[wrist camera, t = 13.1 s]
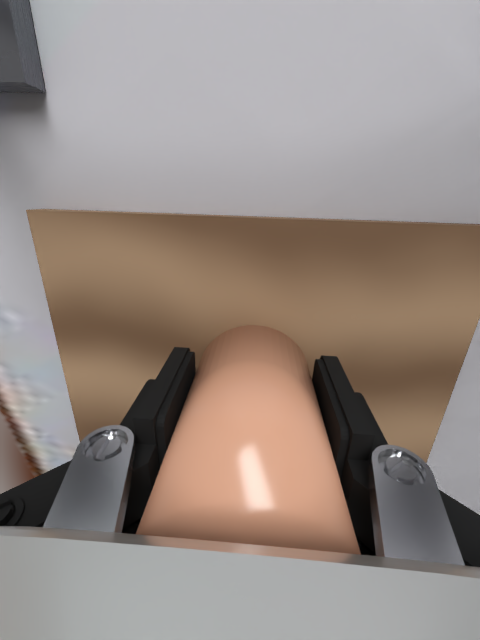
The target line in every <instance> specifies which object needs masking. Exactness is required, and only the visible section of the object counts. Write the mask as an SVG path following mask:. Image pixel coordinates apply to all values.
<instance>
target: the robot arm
mask: <svg viewBox="0 0 480 640" xmlns="http://www.w3.org/2000/svg"><path fill="white" fill-rule="evenodd" d="M195 374H196V368H195V352H190V348H185V347H174V348H173V350H172V352H171V354H170V355H169V357H168V359H167V360H166V362H165V364H164V366H163V367H162V369H161V371H160V372H159V374H158V376H157V377H156V379H149V380H148V381H147V382H146V383H145V385H144V386H143V388H142V390H141V391H140V393H139V394H138V396H137V398H136V399H135V401H134V402H133V404H132V406H131V407H130V409H129V410H128V412H127V414H126V415H125V417H124V418H123V420H122V422H121V423H120V425H110V426H105V427H102V428H99V429H96V430H95V431H93V432H91V433H90V434H88V435H87V436H86V437H85V438H84V439H83V440H82V441H81V442H80V444H79V445H78V447H77V449H76V452H75V454H74V456H73V459H72V460H71V461H69V462H67V463H65V464H63V465H61V466H59V467H56V468H54V469H52V470H50V471H48V472H46V473H44V474H42V475H40V476H38V477H35V478H33V479H31V480H29V481H27V482H25V483H23V484H21V485H19V486H17V487H15V488H12V489H10V490H8V491H6V492H4V493H2V494H0V640H480V515H479V514H477V513H475V512H474V511H472V510H471V509H469V508H467V507H466V506H464V505H463V504H461V503H459V502H458V501H456V500H455V499H453V498H451V497H450V496H448V495H447V494H445V493H443V492H442V491H440V490H439V489H438V487H437V484H436V481H435V478H434V475H433V473H432V471H431V469H430V467H429V466H428V465H427V464H426V463H425V461H424V460H423V459H422V458H420V457H419V456H418V455H416V454H415V453H413V452H411V451H409V450H408V449H406V448H403V447H400V446H396V445H388V443H387V441H386V439H385V437H384V435H383V433H382V431H381V429H380V427H379V425H378V423H377V421H376V420H375V418H374V416H373V414H372V412H371V410H370V408H369V406H368V404H367V402H366V400H365V398H364V396H363V395H362V394H361V393H360V392H354V390H353V388H352V386H351V384H350V382H349V380H348V378H347V376H346V374H345V372H344V370H343V367H342V365H341V363H340V361H339V359H338V357H337V356H323V355H321V357H320V359H315V363H314V369H313V376H312V382H313V386H314V389H315V393H316V396H317V400H318V403H319V407H320V411H321V414H322V418H323V421H324V425H325V428H326V432H327V435H328V439H329V443H330V446H331V450H332V453H333V457H334V460H335V464H336V468H337V471H338V475H339V478H340V482H341V485H342V489H343V492H344V496H345V500H346V503H347V507H348V510H349V514H350V517H351V521H352V525H353V528H354V532H355V535H356V539H357V542H358V546H359V549H360V553H361V555H359V554H349V553H339V552H328V551H318V550H307V549H296V548H286V547H275V546H264V545H253V544H242V543H230V542H219V541H208V540H197V539H186V538H174V537H162V536H150V535H138V534H136V532H137V529H138V526H139V524H140V521H141V518H142V516H143V513H144V510H145V508H146V505H147V502H148V500H149V497H150V494H151V492H152V489H153V486H154V484H155V481H156V478H157V475H158V473H159V470H160V467H161V465H162V462H163V459H164V457H165V454H166V451H167V449H168V446H169V443H170V441H171V438H172V435H173V433H174V430H175V427H176V425H177V422H178V419H179V417H180V414H181V411H182V409H183V406H184V403H185V401H186V398H187V395H188V393H189V390H190V387H191V385H192V382H193V379H194V376H195Z"/></svg>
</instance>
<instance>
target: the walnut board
mask: <svg viewBox="0 0 480 640" xmlns="http://www.w3.org/2000/svg"><path fill="white" fill-rule="evenodd" d="M26 212H27V216H28V220H29V225H30V229H31V233H32V237H33V242H34V246H35V250H36V255H37V259H38V263H39V268H40V272H41V276H42V280H43V285H44V289H45V293H46V298H47V302H48V306H49V311H50V315H51V319H52V324H53V328H54V332H55V336H56V341H57V345H58V349H59V354H60V358H61V362H62V367H63V371H64V375H65V379H66V384H67V388H68V392H69V397H70V401H71V405H72V410H73V414H74V418H75V423H76V427H77V431H78V435H79V440H80V442H81V441H82V440H83V439H84V438H85V437H86V436H87V435H88V434H90V433H91V432H93V431H95V430H96V429H99V428H102V427H105V426H110V425H120V423H121V422H122V420H123V418H124V417H125V415H126V414H127V412H128V410H129V409H130V407H131V406H132V404H133V402H134V401H135V399H136V398H137V396H138V394H139V393H140V391H141V390H142V388H143V386H144V385H145V383H146V382H147V381H148V380H149V379H156V377H157V376H158V374H159V372H160V371H161V369H162V367H163V366H164V364H165V362H166V360H167V359H168V357H169V355H170V354H171V352H172V350H173V348H174V347H185V348H190V352H195V368H196V371H197V368H198V366H199V363H200V360H201V358H202V355H203V353H204V351H205V349H206V348H207V346H208V345H209V344H210V343H211V342H212V341H213V340H214V339H215V338H216V337H217V336H219V335H220V334H222V333H224V332H225V331H227V330H230V329H232V328H236V327H240V326H246V325H258V326H265V327H269V328H273V329H275V330H278V331H280V332H282V333H284V334H285V335H287V336H288V337H290V338H291V339H292V340H293V341H294V342H295V343H296V344H297V345H298V346H299V347H300V349H301V350H302V352H303V354H304V356H305V358H306V361H307V364H308V368H309V371H310V375H311V378H312V376H313V369H314V363H315V359H320V357H321V355H323V356H337V357H338V359H339V361H340V363H341V365H342V367H343V370H344V372H345V374H346V376H347V378H348V380H349V382H350V384H351V386H352V388H353V390H354V392H360V393H361V394H362V395H363V396H364V398H365V400H366V402H367V404H368V406H369V408H370V410H371V412H372V414H373V416H374V418H375V420H376V421H377V423H378V425H379V427H380V429H381V431H382V433H383V435H384V437H385V439H386V441H387V443H388V445H396V446H400V447H403V448H406V449H408V450H409V451H411V452H413V453H415V454H416V455H418V456H419V457H420V458H422V459H423V460H424V461H425V463H426V462H427V459H428V457H429V454H430V451H431V449H432V446H433V443H434V440H435V438H436V435H437V432H438V430H439V427H440V424H441V421H442V419H443V416H444V413H445V410H446V408H447V405H448V402H449V400H450V397H451V394H452V391H453V389H454V386H455V383H456V381H457V378H458V375H459V372H460V370H461V367H462V364H463V362H464V359H465V356H466V353H467V351H468V348H469V345H470V342H471V340H472V337H473V334H474V332H475V329H476V326H477V323H478V321H479V318H480V224H457V223H428V222H400V221H371V220H342V219H314V218H285V217H257V216H228V215H200V214H171V213H143V212H114V211H86V210H57V209H33V210H26Z"/></svg>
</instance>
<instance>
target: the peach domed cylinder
mask: <svg viewBox="0 0 480 640" xmlns="http://www.w3.org/2000/svg"><path fill="white" fill-rule="evenodd" d="M136 534H138V535H150V536H162V537H174V538H186V539H197V540H208V541H219V542H230V543H242V544H253V545H264V546H275V547H286V548H296V549H307V550H318V551H328V552H339V553H349V554H359V555H361V553H360V549H359V546H358V542H357V539H356V535H355V532H354V528H353V525H352V521H351V517H350V514H349V510H348V507H347V503H346V500H345V496H344V492H343V489H342V485H341V482H340V478H339V475H338V471H337V468H336V464H335V460H334V457H333V453H332V450H331V446H330V443H329V439H328V435H327V432H326V428H325V425H324V421H323V418H322V414H321V411H320V407H319V403H318V400H317V396H316V393H315V389H314V386H313V382H312V378H311V375H310V371H309V368H308V364H307V361H306V358H305V356H304V354H303V352H302V350H301V349H300V347H299V346H298V345H297V344H296V343H295V342H294V341H293V340H292V339H291V338H290V337H288V336H287V335H285V334H284V333H282V332H280V331H278V330H275V329H273V328H269V327H265V326H258V325H246V326H240V327H236V328H232V329H230V330H227V331H225V332H224V333H222V334H220V335H219V336H217V337H216V338H215V339H214V340H213V341H212V342H211V343H210V344H209V345H208V346H207V348H206V349H205V351H204V353H203V355H202V358H201V360H200V363H199V366H198V368H197V371H196V374H195V376H194V379H193V382H192V385H191V387H190V390H189V393H188V395H187V398H186V401H185V403H184V406H183V409H182V411H181V414H180V417H179V419H178V422H177V425H176V427H175V430H174V433H173V435H172V438H171V441H170V443H169V446H168V449H167V451H166V454H165V457H164V459H163V462H162V465H161V467H160V470H159V473H158V475H157V478H156V481H155V484H154V486H153V489H152V492H151V494H150V497H149V500H148V502H147V505H146V508H145V510H144V513H143V516H142V518H141V521H140V524H139V526H138V529H137V532H136Z"/></svg>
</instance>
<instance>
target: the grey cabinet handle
mask: <svg viewBox="0 0 480 640" xmlns="http://www.w3.org/2000/svg"><path fill="white" fill-rule="evenodd" d="M0 92H45V87H44V81H43V76H42V70H41V65H40V59H39V54H38V48H37V43H36V37H35V32H34V26H33V21H32V15H31V10H30V4H29V0H0Z"/></svg>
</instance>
